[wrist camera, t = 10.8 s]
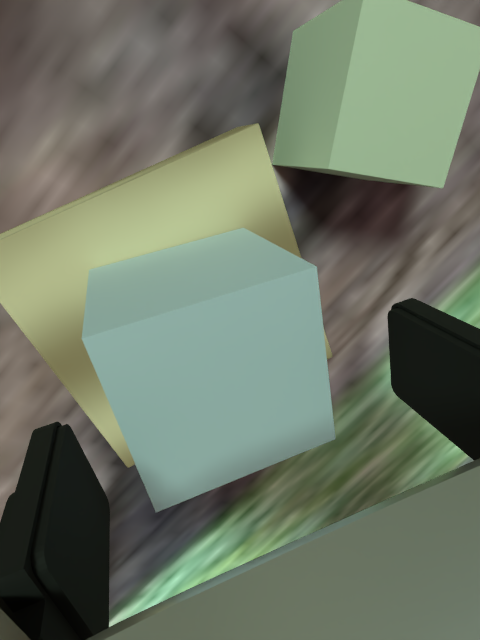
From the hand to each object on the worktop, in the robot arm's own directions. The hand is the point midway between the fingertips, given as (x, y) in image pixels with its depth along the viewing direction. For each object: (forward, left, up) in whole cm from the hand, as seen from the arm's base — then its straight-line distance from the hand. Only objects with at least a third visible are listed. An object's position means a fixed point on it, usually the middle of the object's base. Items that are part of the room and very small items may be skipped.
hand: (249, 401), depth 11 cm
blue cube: (0, 0, -6) cm, 6 cm away
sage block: (+6, -8, -9) cm, 14 cm away
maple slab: (0, +1, -9) cm, 9 cm away
